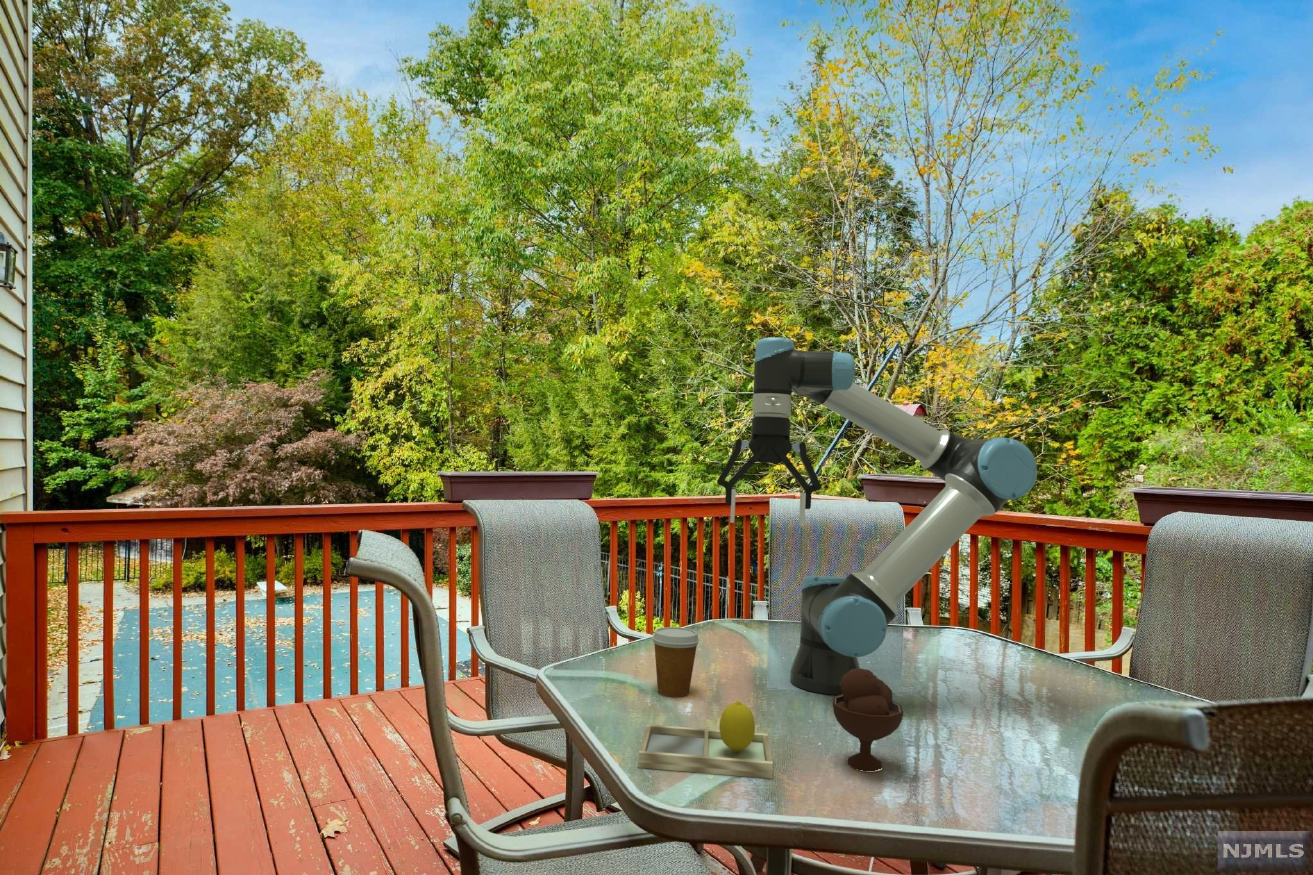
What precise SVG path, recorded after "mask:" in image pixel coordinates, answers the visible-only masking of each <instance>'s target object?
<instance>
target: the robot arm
mask: <svg viewBox="0 0 1313 875" xmlns="http://www.w3.org/2000/svg"><path fill="white" fill-rule="evenodd" d="M754 354H755V355H754V361H753V367H754V369H753V394H752V414H753V415H754V416H753V418H752V419H751V437H750V440H749V441H748V440H747V441H746V440H741V439H736V440H735V444H734V448H733V449H734V450H733V452H732V453H731V455H730V457H729V459H728V460H727V463H726V464H725V466H724V468H723V470H722V472H721V473H720V475H719V477H718V479H717V482H716V483H717V485H718V486H721V487H723V488H724V489H725V498H724V499H725V506H730V518H729V520H730V521H729V522H730V523H732V524H734V523H735V514H736V511H735V510H736V493H737V492H736V488H733V487H734V485H736V484H737V482H739V480H741V478H742V477H743V476H744V475H745V474H746V473H747V472H748V471H749V470H750V469H751V468H752V467H753V465H755V463H756V462H759V463H761V464H768V463H769V464H773V465H774V464H775V465H777V464H780V463H782V464H783V465H784V467H785V468H786V469H787V471H789V473H790V475H792V477H793V478H794V479H795V480H796V482H797V483H798V484H799V486H800V487H801V488H802V490H803V491H804V492H800V495H799V496H800V498H799V516H798V518H799V520H798V526H799V527H805V522H806V510H810V509H811V507H812V494H813V493H814V492H816V491H819V490H821V489H822V484H821V482H820V480H819V477H818V476H817V474H816V472H815V469H814V467H813V465H812V463H811V460H810V458H809V455H808V454H807V444H806V442H804V441H802V442H797V443H796V442H795V443H792V442H791V439H790V438H791V437H790V435H791V419H790V418H789V417H788V416H791V412H792V392H793V394H795V395H797V396H799V397H803V398H808V399H810V400H812V401H814V402H816V403H817V404H819V405H822V406H823V407H825V408H827V409H829V410H831V411H832V412H834V413H836V414H838V415H839V416H841V417H843V418H844V419H846V420H848V421H850V422H852V423H853V424H855V425H857V427H859V428H862V429H863V430H865V431H867V432H869V433H870V434H872V435H874V436H876V437H878V438H879V439H881V440H883V441H884V442H886V443H888V444H889V445H892V446H893V447H895V448H897V449H899V450H900V451H902V452H904V453H906V454H907V455H909V456H910V457H913V458H914V459H915V460H916V459H917V461H920V466H921V468H922V469H924V470H926V471H928V472H929V473H930V474H933V475H935V476H936V477H937V478H939V479H941V480H942V481H944V482H945V483H944V484H945V487H943V489H941V491H939V493H938V494H937V495H936V496H935V497H934V498H933V499H932V500H931V501H930V502H929V503H928V504H927V506H925V507H924V508H923V509H922V511H920V512H919V514H918V515H917V516H916V517H915V518H914V519H913V520H912V521H911V522H910V523H909V524H907V526H906V527H904V528H903V530H902V531H901V532H900V533H899V534H898V535H897V536H896V537H895V538H894V540H892V542H891V543H889V545H888V546H886V548H884V550H882V552H881V553H880V554H879V555H877V557H876V558H875V559H874V560H873V561H872V562H871V563H870V564H869V565H868V566H867V567H866V568H865V569H864V570H863V571H858V572H856V571H855V572H854V571H852V572H850V573H849V574H848V575H847V576H846V577H843V576H826V575H825V576H821V575H806V576H805V577H804V578H803V580H802V587H801V588H800V593H801V607H800V632H799V633H800V637H799V647H798V649H797V652H796V654H795V657H794V660H793V663H792V665H791V668H790V675H789V676H790V679H789V680H790V682H791V683H792V684H793V685H794V686H795V687H797V688H800V689H802V690H806V691H808V692H813V693H818V694H825V695H834V696H838V695H841V694H843V693H842V691H841V687H840V685H839V684H840V682H841V679H842V677H843V676H844V675H845V674H846V673H847V672H849V671H850V670H852V669H857V668H861V667H860V663H859V660H858V658H861V657H864V656H865V657H866V656H868V655H870V654H873V653H874V652H875V651H877V650H878V649H879V648H880V647H881V645H882V644H883V643H884V641H885V639H886V635H887V627H888V625H890V624H891V622H892V621H893V620H894V619H895V618H896V617H897V616H898V603H899V602H900V601H901V600H902V599H903V597H904V596H906V595H907V594H908V592H909V591H910V590H911V589H912V588H914V586H915V585H916V584H917V583H918V582H919V581H920V580H921V579H922V578H923V577H924V576H925V575H926V574H927V573H928V572H929V571H930V570H931V569H932V568H933V566H935V564H936V563H938V561H939V560H941V559H942V557H943V556H944V555H945V554H946V553H947V552H948V551H949V550H950V549H951V548H952V547H953V546H954V545H955V544H956V542H958V541H959V540H960V538H962V536H963V535H965V533H966V532H967V531H969V529H970V528H971V527H972V526H973V525H974V524H975V523H976V522H977V521H978V520H979V519H980V518H981V517H992V516H995V514H996V513H997V512H998V511H999V510H1000V509H1001V508H1002V507H1003V506H1004V505H1005V504H1006V503H1007V502H1008V501H1009V500H1016V499H1019V498H1021V497H1023V496H1025V495H1027V494H1028V493H1029V492H1030V491H1031V490H1032V488H1033V487H1034V485H1035V483H1036V481H1037V476H1038V469H1037V468H1038V467H1037V466H1038V465H1037V461H1036V459H1035V456H1034V454H1033V452H1032V451H1031V450H1030V448H1029V447H1028V446H1026V445H1025V444H1024V443H1022V442H1021V441H1019V440H1016V439H1013V438H1007V437H1004V436H1003V437H1002V436H1001V437H999V436H998V437H993V438H984V439H983V438H981V439H974V438H973V439H972V438H969V437H968V438H967V437H963V436H960V435H958V434H956V433H953V432H951V431H950V430H948V429H942V430H939V429H936V428H935V427H933V426H931V425H929V424H927V423H926V422H924V421H922V420H921V419H919V418H917V417H915V416H914V415H912V414H909V413H908V412H906V411H905V410H903V409H901V408H899V407H897V406H896V405H894V404H892V403H891V402H888V401H887V400H885V399H884V398H881V397H880V396H878V395H877V394H875V393H872V392H871V391H869V390H868V389H866V388H864V387H862V385H861V386H860V385H859V384H857V383H855V382H854V381H855V374H856V365H855V364H856V362H855V359H854V357H853V355H852V354H850V353H848V352H839V351H836V350H834V351H818V350H816V351H815V350H812V351H811V350H799V349H796V348H795V343H794V341H793V340H792V339H791V338H786V337H777V336H776V337H771V336H770V337H765V338H761V339H759V340H758V341H757V342H756V346H755V353H754ZM746 448H748V449H749V450H750V451H751V453H752V456H751V457H750V458H749V459H748V460H747V461H746V462H745V463H744V464H743V465H742V466H741V468H739V470H738V471H737V472H736V473H735V474H734V475H733V476H732V477H731V478H730V480H729V481H727V480H726V479H727V477H728V475H729V473H730V471H731V470H732V468H733V466H734V464H735V462H736V461H737V459H738V458H739V455H740V453H741V452H744V451H745V449H746ZM791 450H794V451H795V454H797V455H799V458H800V460H801V462H802V465H803V467H804V470H805V471H806V474H807V475H808V478H809V481H810V482H811V485H810V484H809V483H808V482H807V481H806V479H805V478H804V476H803V475H802V474H801V473H800V472H799V470H798V469H797V468H796V467H795V465H794V464H793V462H792V461H791V460H790V458H789V457H788V455H789V453H790V452H791Z"/></svg>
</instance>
